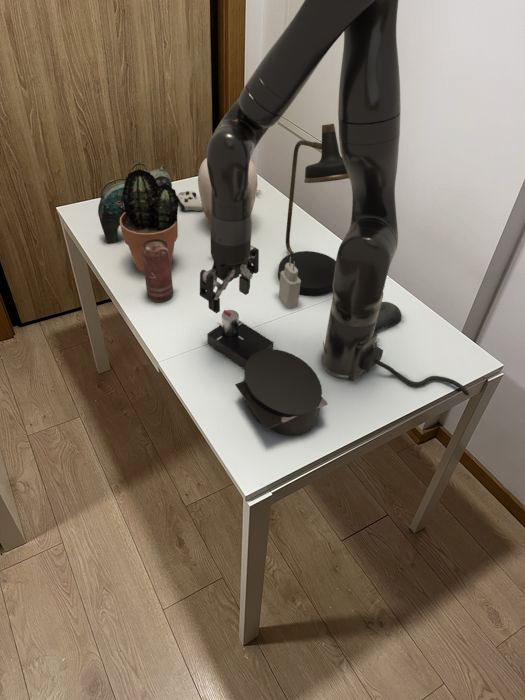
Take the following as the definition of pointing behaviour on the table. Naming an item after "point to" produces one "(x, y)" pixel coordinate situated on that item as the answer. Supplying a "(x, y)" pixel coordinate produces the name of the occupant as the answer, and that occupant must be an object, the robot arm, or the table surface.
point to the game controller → (189, 201)
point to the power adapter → (289, 286)
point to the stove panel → (238, 343)
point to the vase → (206, 187)
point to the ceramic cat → (121, 203)
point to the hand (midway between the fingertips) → (229, 301)
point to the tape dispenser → (282, 392)
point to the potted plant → (148, 214)
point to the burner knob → (230, 323)
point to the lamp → (310, 265)
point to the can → (157, 270)
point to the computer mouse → (387, 316)
